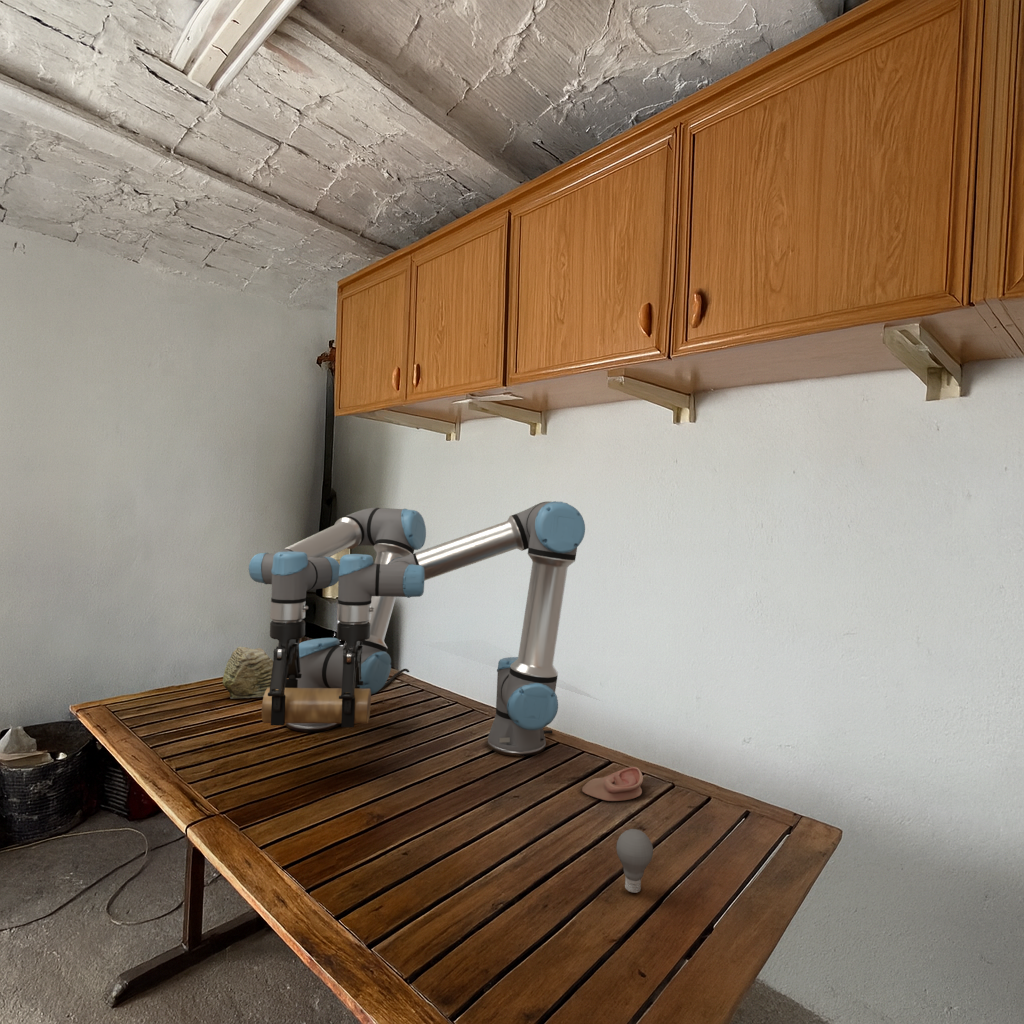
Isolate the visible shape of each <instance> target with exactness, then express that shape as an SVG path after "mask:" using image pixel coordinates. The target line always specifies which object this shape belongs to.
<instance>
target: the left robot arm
mask: <svg viewBox="0 0 1024 1024" xmlns="http://www.w3.org/2000/svg"><path fill="white" fill-rule="evenodd" d="M426 538H427V528H426V523H425V519H424V517H423V515H422V514H421V513H420V512H419V511H418V510H415V509H408V508H385V507H368V508H363V509H360V510H358V511H357V510H356V511H355V512H352V513H349V514H347V515H345V516H343V517H340V518H338V519H337V520H336V521H335V523H334V525H331V526H329V527H327V528H325V529H323V530H320V531H318V532H316V533H314V534H312V535H310V536H307V537H306V538H304V539H301V540H299V541H297V542H295V543H292V544H290V545H289V546H286V547H284V548H282V549H280V550H277V551H275V552H273V553H269V552H259V553H257V554H255V555H253V557H252V558H251V559H250V560H249V561H250V562H249V564H248V573H249V576H250V579H251V580H253V582H256V583H259V584H263V585H271V598H270V612H269V613H270V615H269V618H270V620H271V621H270V622H269V637H270V638H271V639H272V640H277V641H278V644H277V646H276V647H275V648H274V650H273V652H272V653H273V657H272V660H273V667H272V675H271V683H270V691H269V693H268V696H272V706H271V723H270V726H286V728H287V729H289V730H291V731H294V732H295V731H296V732H301V733H316V732H325V731H329V730H332V729H335V728H337V727H339V726H340V725H341V723H285V696H286V695H284V691H285V688H342V675H343V648H345V645H346V644H347V642H346V641H344V643H343V646H342V645H340V644H341V642H340V640H339V639H337V637H321V638H313V639H307V640H304V641H302V642H300V639H302V638H304V637H305V635H306V621H305V620H304V619H305V618H306V611H308V610H309V606H308V605H306V603H307V602H306V601H307V592H309V591H315V590H320V589H327V588H329V587H333V586H334V585H336V584H337V583H338V579H339V576H338V574H339V567H340V562H339V561H338V560H336V558H334V557H333V556H335V555H336V554H339V553H340V552H342V551H344V550H346V549H347V550H352V549H355V548H357V547H360V546H370V547H373V550H374V551H375V553H376V555H375V556H376V557H375V560H374V563H376V564H388V563H389V562H390V561H391V560H393V559H395V558H398V557H405V556H408V555H411V554H414V553H415V551H418V550H421V549H422V548H423V547H424V545H425V543H426ZM396 599H397V597H391V596H372V598H371V606H370V608H371V607H372V608H373V609H374V611H373V612H371V619H370V620H369V621H368V622H369V623H370V624H371V628H370V638H369V639H367V640H364V641H362V646H363V650H362V659H361V680H360V681H363V685H358V686H360V688H366V689H371V695H375V694H376V693H378V692H379V691H380V690H382V689H384V688H386V687H387V686H388V685H389V684H391V682H392V681H394V680H395V679H396V678H397V677H398V676H399V675H401V674H402V673H404V672H405V673H410V670H409V669H408V668H403V669H401V670H399V671H397V672H396V673H394V674H393V675H392V676H391V677H390V674H391V670H392V658H391V656H390V654H389V653H388V646H387V644H386V643H385V638H386V634H387V631H388V628H389V624H390V621H391V616H392V614H393V610H394V606H395V602H396ZM389 677H390V678H389ZM276 689H278V690H276Z"/></svg>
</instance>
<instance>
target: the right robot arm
mask: <svg viewBox="0 0 1024 1024" xmlns="http://www.w3.org/2000/svg"><path fill="white" fill-rule="evenodd" d="M585 534H586V523H585V520H584V517H583V515H582V514H581V513H580V511H579V510H578V509H577V508H576V507H574V506H573V505H571V504H569V503H568V502H563V501H556V500H555V501H542V502H539V503H537V504H535V505H533V506H531V507H528V508H526V509H524V510H522V511H519V512H517V513H515V514H512V515H509V517H508V518H507V520H506V521H504V522H501V523H498V524H494V525H492V526H489V527H486V528H483V529H480V530H477V531H475V532H472V533H467V534H466V535H463V536H460V537H457V538H454V539H451V540H449V541H446V542H443V543H440V544H436V545H434V546H430V547H428V548H425V549H422V550H420V551H417V552H414V553H413V554H411V555H408V556H405V557H398V558H395V559H393V560H391V561H390V562H389V563H388V564H376V563H375V560H374V557H373V556H372V555H371V554H364V553H347V554H343V555H342V556H341V557H340V559H339V565H340V567H339V574H338V576H339V579H338V582H337V583H338V586H337V587H338V588H337V606H336V620H337V621H338V622H337V623H336V638H337V639H338V640H339V641H341V642H345V641H346V642H347V644H346V645H345V648H343V675H342V692H341V696H339V699H342V721H341V724H340V725H341V726H340V727H341V728H354V727H355V723H354V715H355V695H354V692H355V688H360V686H358V685H363V681H360V680H361V659H362V650H363V646H362V641H364V640H367V639H369V638H370V628H371V624H370V623H369V622H368V621H369V620H370V619H371V612H373V611H374V609H373V608H372V607H371V608H370V606H371V598H372V596H391V597H396V598H397V597H398V598H419V597H422V596H423V595H424V593H425V581H427V580H431V579H433V578H434V579H435V578H436V577H439V576H442V575H445V574H448V573H450V572H453V571H457V570H459V569H462V568H465V567H467V566H471V565H473V564H477V563H479V562H482V561H486V560H489V559H491V558H494V557H496V556H497V557H498V556H499V555H502V554H506V553H508V552H511V551H514V550H519V551H521V552H522V551H526V550H527V555H528V557H529V558H530V559H531V562H532V564H531V569H530V577H529V583H528V590H527V596H526V603H525V610H524V615H523V616H524V617H523V623H522V629H521V637H520V642H519V650H518V654H517V656H510V657H502V658H500V659H499V661H498V664H497V669H496V672H497V677H496V698H495V699H496V700H495V703H496V704H495V716H494V719H493V722H492V724H491V726H490V729H489V732H488V735H487V747H488V748H489V749H490V750H491V751H492V752H495V753H496V754H499V755H503V756H509V757H521V758H522V757H531V756H536V755H538V754H541V753H542V752H544V751H545V749H546V746H547V745H546V743H547V742H546V741H547V740H546V735H552V734H553V730H552V729H546V730H544V728H546V727H547V726H548V725H550V724H551V723H552V722H553V721H554V720H555V718H556V716H557V714H558V711H559V699H558V696H557V694H556V690H557V682H558V677H559V672H558V671H557V669H556V668H555V666H554V661H555V660H554V659H555V654H556V647H557V640H558V635H559V627H560V623H561V622H560V620H561V615H562V607H563V603H564V602H563V601H564V594H565V587H566V582H567V575H568V569H569V567H570V566H571V565H572V564H573V563H575V562H576V558H577V552H578V547H579V546H580V545H581V544H582V542H583V540H584V538H585Z"/></svg>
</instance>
